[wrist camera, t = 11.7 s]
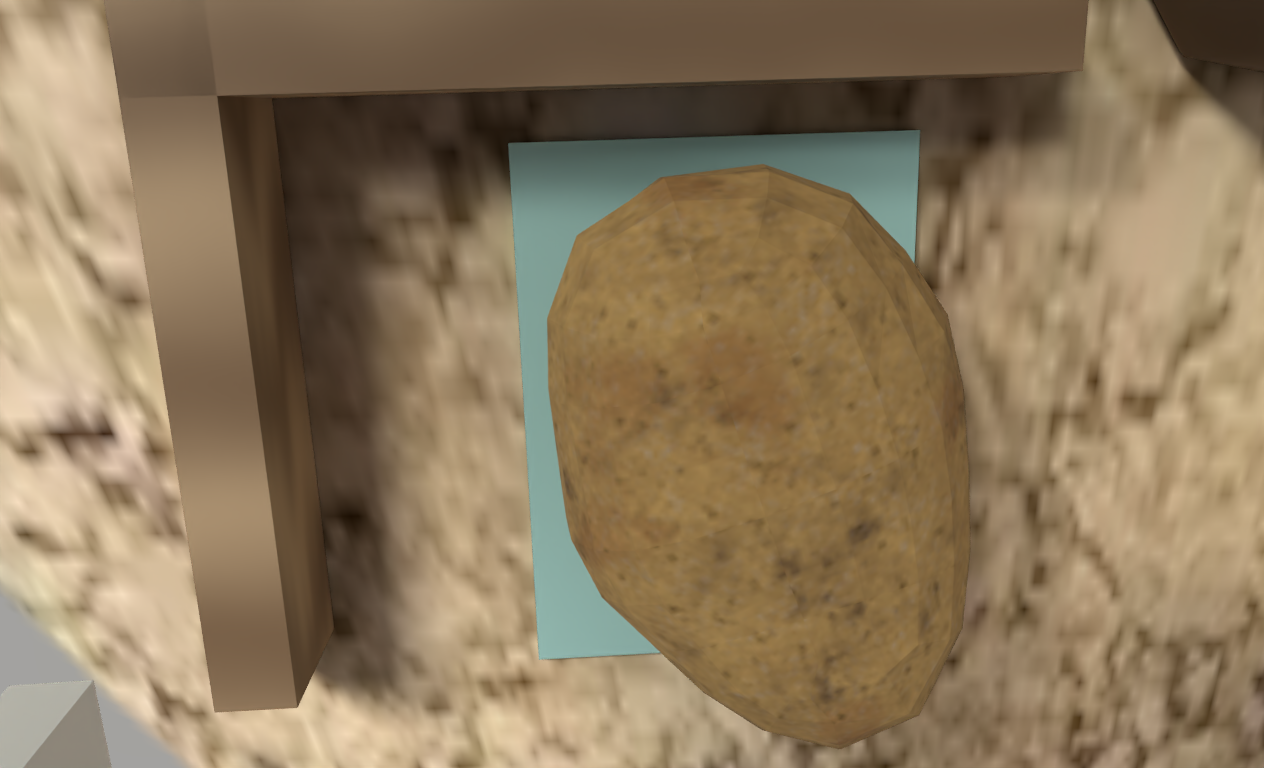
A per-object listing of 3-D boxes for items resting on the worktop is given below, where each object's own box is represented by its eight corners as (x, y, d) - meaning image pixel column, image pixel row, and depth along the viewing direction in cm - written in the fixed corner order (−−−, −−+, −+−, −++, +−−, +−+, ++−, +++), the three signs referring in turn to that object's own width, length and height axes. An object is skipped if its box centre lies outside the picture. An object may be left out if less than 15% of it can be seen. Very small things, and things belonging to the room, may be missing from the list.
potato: (656, 682, 30) (686, 882, 22) (471, 229, 26) (428, 279, 18) (973, 569, 29) (1117, 733, 21) (831, 93, 25) (943, 85, 18)
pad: (508, 142, 26) (508, 142, 25) (917, 129, 26) (920, 130, 26) (539, 655, 29) (539, 659, 29) (895, 636, 30) (897, 639, 30)
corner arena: (177, 14, 24) (103, -4, 20) (1012, -7, 25) (1090, -29, 21) (262, 631, 29) (214, 712, 25) (973, 593, 30) (1033, 665, 26)
